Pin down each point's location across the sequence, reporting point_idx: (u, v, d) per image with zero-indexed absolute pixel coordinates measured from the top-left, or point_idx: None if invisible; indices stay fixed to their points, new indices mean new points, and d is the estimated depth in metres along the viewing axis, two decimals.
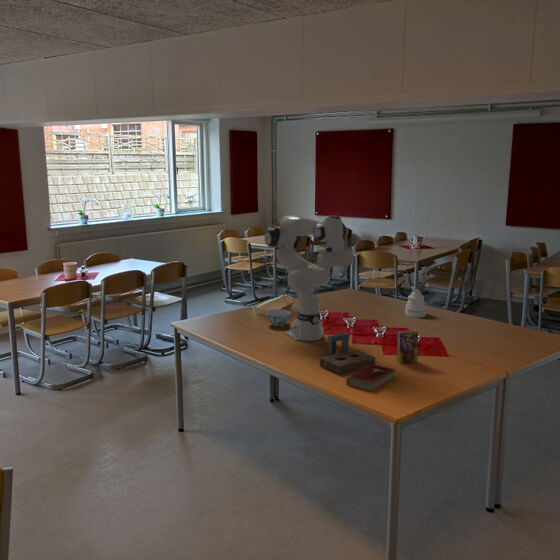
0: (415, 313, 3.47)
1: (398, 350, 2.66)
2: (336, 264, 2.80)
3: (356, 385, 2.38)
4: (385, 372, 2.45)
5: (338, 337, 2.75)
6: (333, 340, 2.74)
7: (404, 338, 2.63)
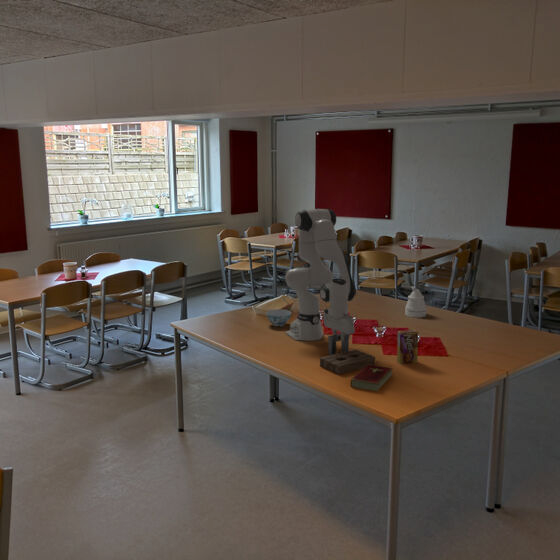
0: (415, 313, 3.47)
1: (398, 350, 2.66)
2: (334, 328, 2.76)
3: (361, 387, 2.37)
4: (384, 371, 2.46)
5: (338, 337, 2.75)
6: (333, 340, 2.74)
7: (404, 338, 2.63)
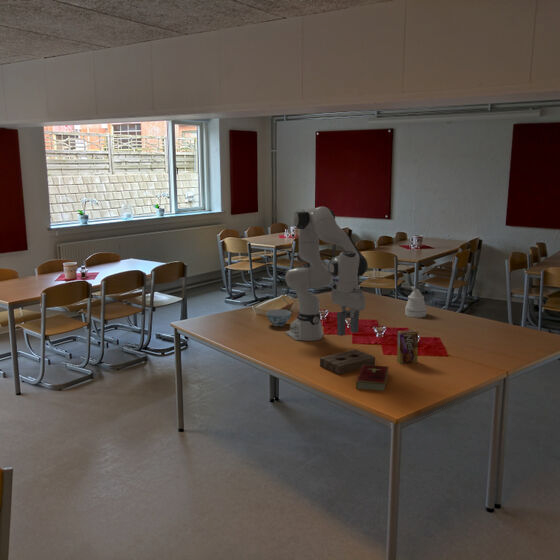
0: (415, 313, 3.47)
1: (398, 350, 2.66)
2: (343, 304, 2.59)
3: (367, 388, 2.35)
4: (383, 370, 2.47)
5: (347, 314, 2.58)
6: (342, 317, 2.56)
7: (404, 338, 2.63)
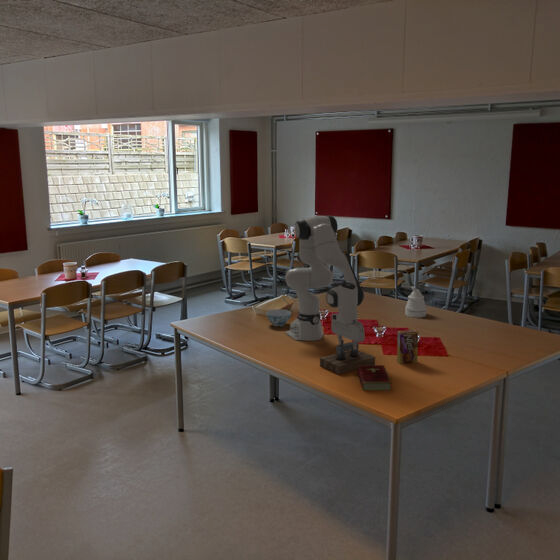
0: (415, 313, 3.47)
1: (398, 350, 2.66)
2: (343, 335, 2.62)
3: (373, 388, 2.35)
4: (381, 369, 2.48)
5: (347, 346, 2.61)
6: (342, 350, 2.59)
7: (404, 338, 2.63)
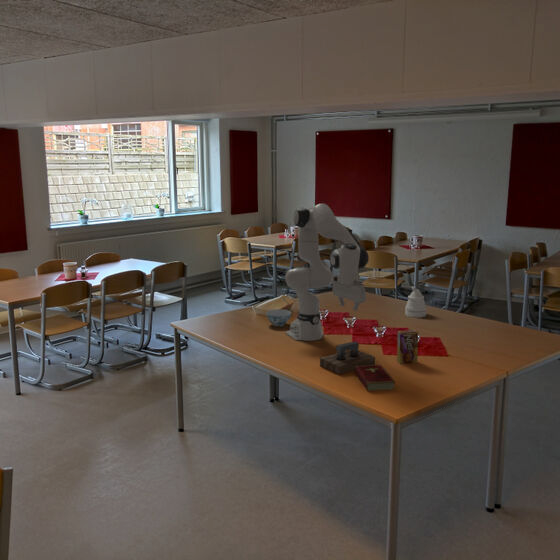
0: (415, 313, 3.47)
1: (398, 350, 2.66)
2: (344, 297, 2.61)
3: (377, 388, 2.35)
4: (379, 369, 2.49)
5: (347, 346, 2.61)
6: (342, 350, 2.59)
7: (404, 338, 2.63)
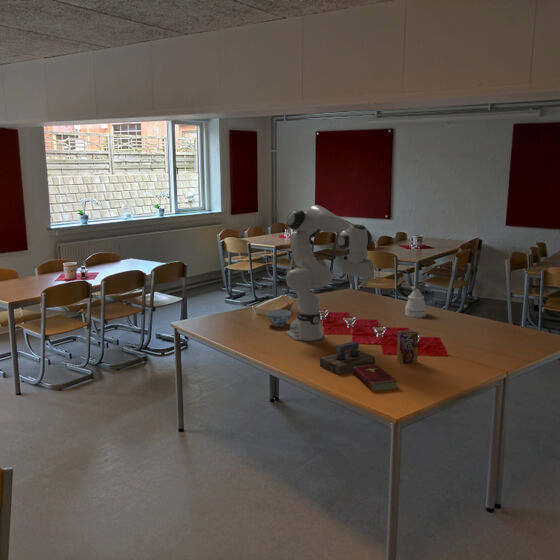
0: (415, 313, 3.47)
1: (398, 350, 2.66)
2: (353, 274, 2.78)
3: (381, 388, 2.35)
4: (378, 369, 2.49)
5: (347, 346, 2.61)
6: (342, 350, 2.59)
7: (404, 338, 2.63)
